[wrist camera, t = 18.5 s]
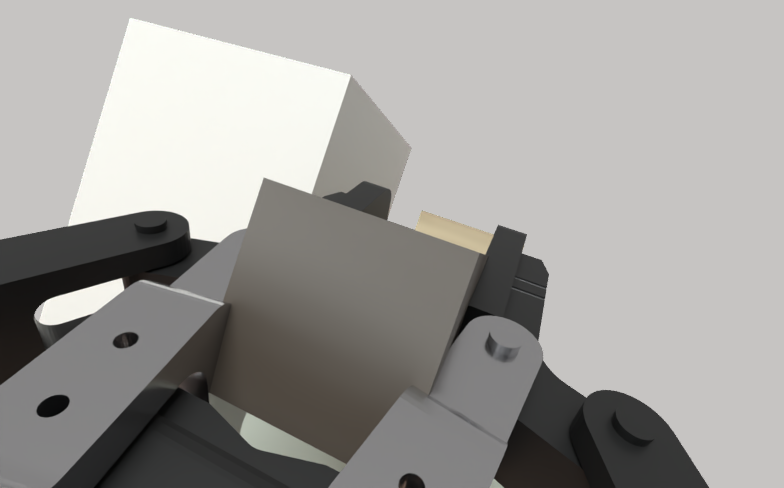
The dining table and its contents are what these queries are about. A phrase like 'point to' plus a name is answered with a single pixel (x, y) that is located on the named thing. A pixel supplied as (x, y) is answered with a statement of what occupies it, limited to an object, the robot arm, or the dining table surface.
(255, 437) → the riser
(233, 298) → the block
